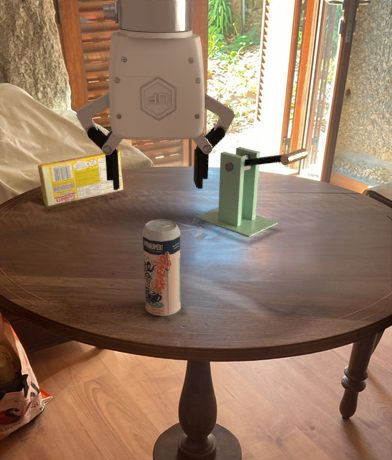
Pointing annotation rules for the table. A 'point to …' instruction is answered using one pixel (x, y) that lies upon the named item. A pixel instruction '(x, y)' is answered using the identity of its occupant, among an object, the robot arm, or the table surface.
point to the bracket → (238, 196)
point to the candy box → (76, 179)
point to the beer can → (162, 267)
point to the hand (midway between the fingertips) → (157, 185)
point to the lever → (275, 158)
